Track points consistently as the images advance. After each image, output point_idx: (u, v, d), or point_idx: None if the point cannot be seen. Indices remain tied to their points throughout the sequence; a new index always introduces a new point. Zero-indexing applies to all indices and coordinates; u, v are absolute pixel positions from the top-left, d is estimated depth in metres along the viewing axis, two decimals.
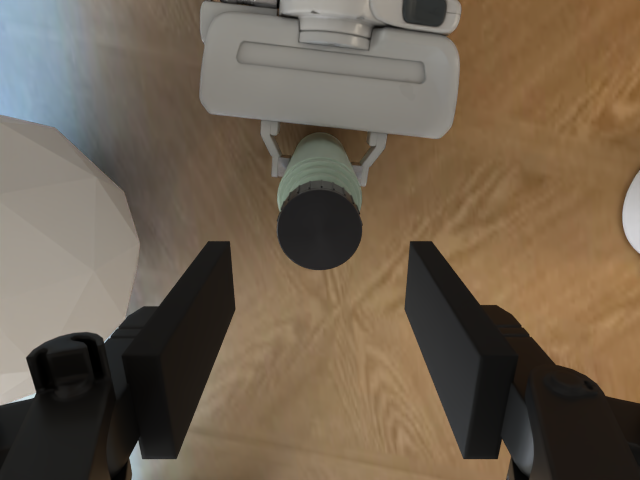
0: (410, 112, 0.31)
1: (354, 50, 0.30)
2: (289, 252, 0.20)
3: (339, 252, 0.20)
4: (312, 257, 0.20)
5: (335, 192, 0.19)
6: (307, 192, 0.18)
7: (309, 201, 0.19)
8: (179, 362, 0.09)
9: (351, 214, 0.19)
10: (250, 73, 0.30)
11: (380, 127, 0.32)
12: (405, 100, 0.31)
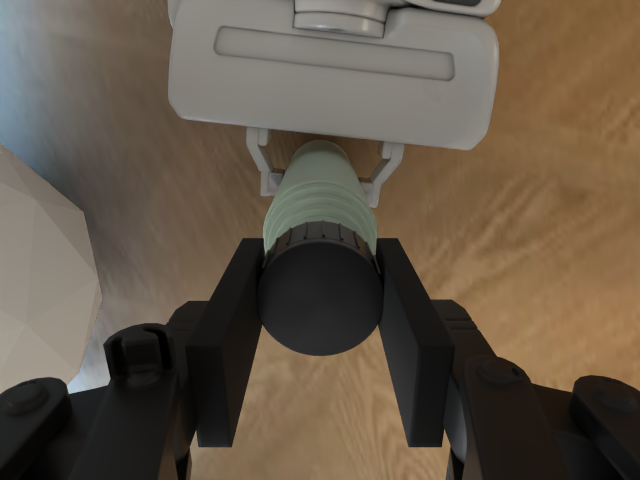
0: (435, 117, 0.25)
1: (365, 37, 0.23)
2: (275, 331, 0.13)
3: (350, 331, 0.13)
4: (309, 338, 0.13)
5: (344, 245, 0.12)
6: (301, 245, 0.12)
7: (304, 259, 0.12)
8: (233, 354, 0.09)
9: (369, 277, 0.12)
10: (231, 67, 0.24)
11: (396, 136, 0.25)
12: (428, 101, 0.24)
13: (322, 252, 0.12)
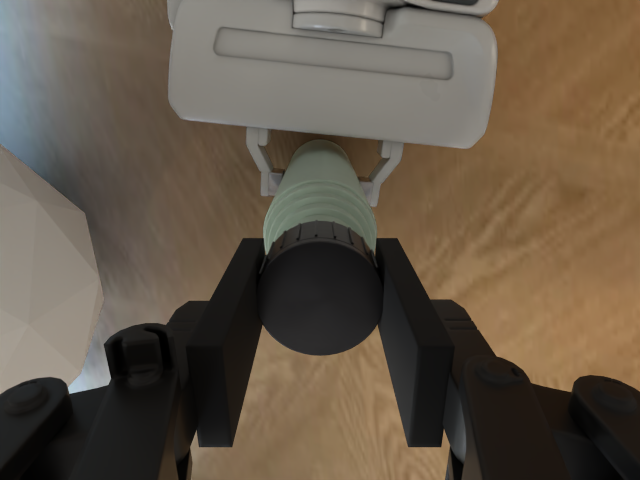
0: (434, 115, 0.25)
1: (363, 37, 0.23)
2: (363, 332, 0.13)
3: (346, 266, 0.12)
4: (363, 301, 0.13)
5: (256, 292, 0.13)
6: (267, 328, 0.13)
7: (279, 324, 0.13)
8: (233, 354, 0.09)
9: (280, 265, 0.12)
10: (231, 67, 0.24)
11: (395, 135, 0.25)
12: (427, 100, 0.24)
13: (268, 311, 0.13)
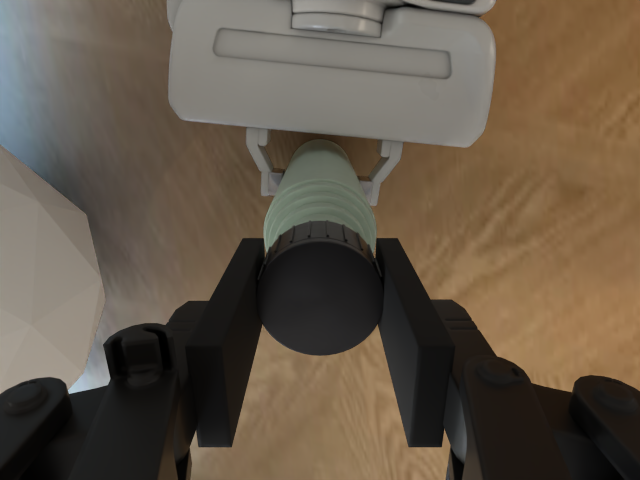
0: (433, 115, 0.25)
1: (362, 37, 0.24)
2: (344, 252, 0.12)
3: (275, 288, 0.12)
4: (308, 262, 0.12)
5: (327, 353, 0.13)
6: (362, 338, 0.13)
7: (354, 330, 0.13)
8: (233, 354, 0.09)
9: (292, 341, 0.13)
10: (230, 68, 0.24)
11: (395, 134, 0.25)
12: (426, 100, 0.25)
13: (343, 342, 0.13)
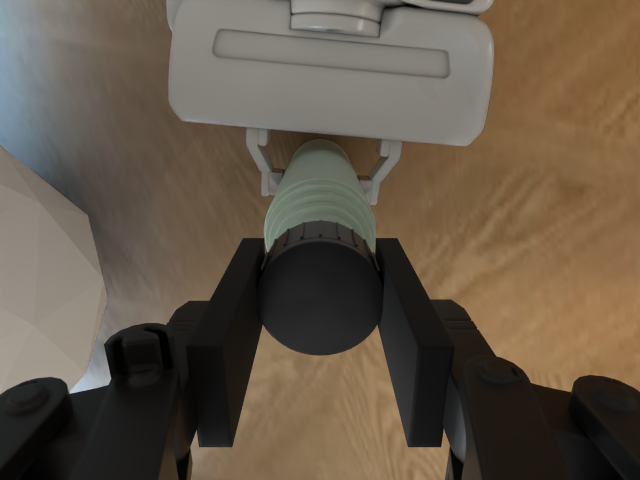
0: (432, 114, 0.25)
1: (361, 37, 0.24)
2: (262, 292, 0.13)
3: (316, 340, 0.13)
4: (282, 320, 0.13)
5: (380, 278, 0.12)
6: (352, 251, 0.12)
7: (344, 262, 0.12)
8: (233, 353, 0.09)
9: (371, 315, 0.13)
10: (230, 69, 0.24)
11: (394, 133, 0.25)
12: (425, 99, 0.25)
13: (361, 269, 0.12)
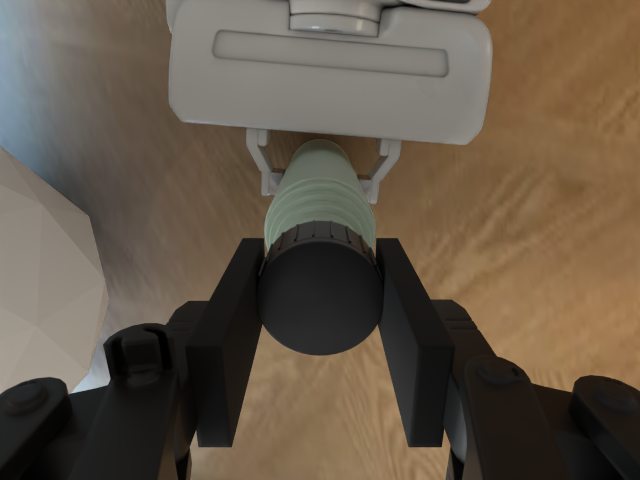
0: (431, 113, 0.25)
1: (359, 37, 0.24)
2: (324, 350, 0.13)
3: (365, 294, 0.13)
4: (349, 329, 0.13)
5: (280, 252, 0.12)
6: (259, 286, 0.12)
7: (272, 290, 0.12)
8: (233, 354, 0.09)
9: (322, 250, 0.12)
10: (229, 69, 0.24)
11: (393, 133, 0.26)
12: (424, 98, 0.25)
13: (274, 274, 0.12)
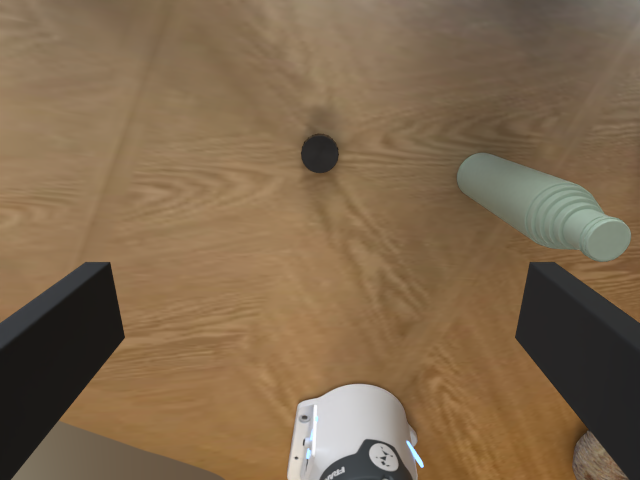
0: None
1: None
2: (321, 171, 0.45)
3: (332, 152, 0.44)
4: (328, 163, 0.44)
5: (308, 139, 0.44)
6: (302, 149, 0.44)
7: (306, 151, 0.44)
8: None
9: (320, 138, 0.44)
10: None
11: None
12: None
13: (307, 145, 0.44)
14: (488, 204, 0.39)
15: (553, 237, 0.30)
